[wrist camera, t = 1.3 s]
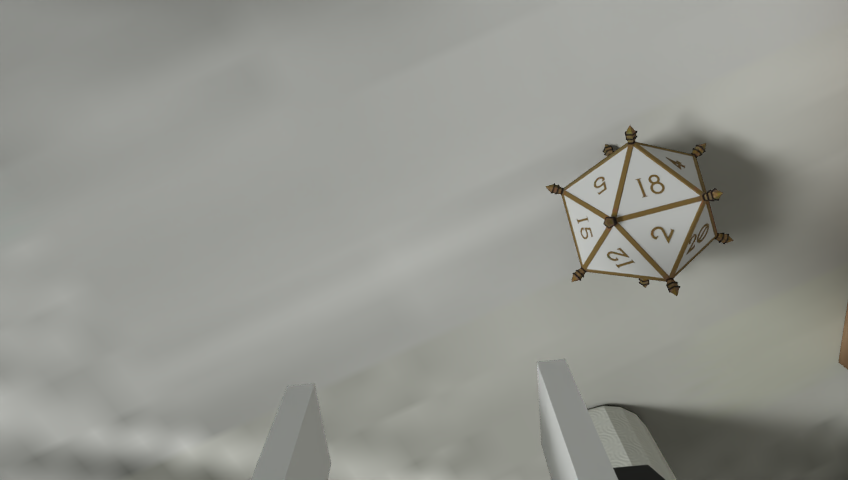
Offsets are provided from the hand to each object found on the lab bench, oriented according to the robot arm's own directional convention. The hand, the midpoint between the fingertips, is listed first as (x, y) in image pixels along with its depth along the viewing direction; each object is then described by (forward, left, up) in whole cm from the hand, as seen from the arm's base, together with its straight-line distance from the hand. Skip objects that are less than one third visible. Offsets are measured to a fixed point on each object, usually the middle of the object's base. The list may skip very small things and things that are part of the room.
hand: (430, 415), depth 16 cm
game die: (0, +11, -19) cm, 22 cm away
